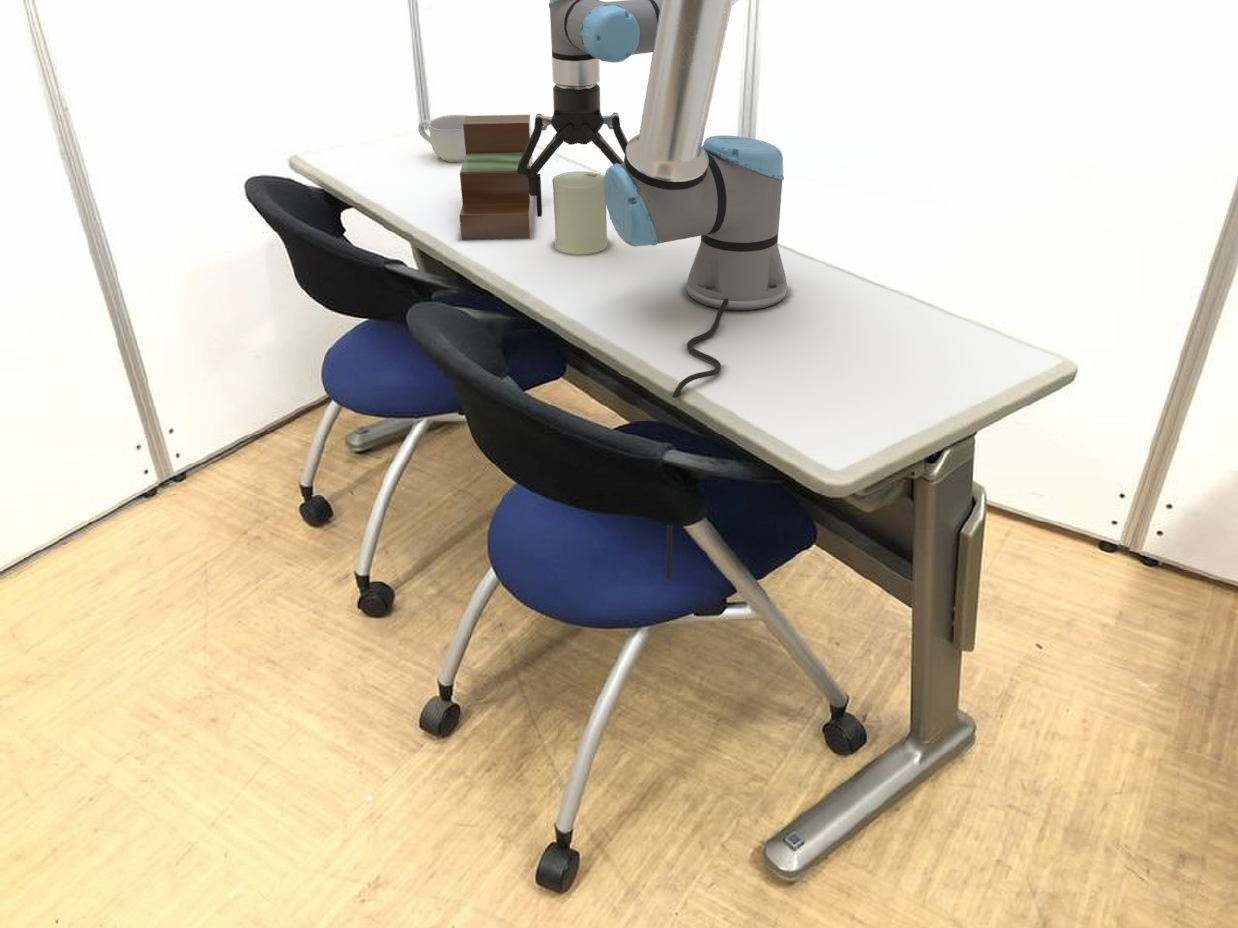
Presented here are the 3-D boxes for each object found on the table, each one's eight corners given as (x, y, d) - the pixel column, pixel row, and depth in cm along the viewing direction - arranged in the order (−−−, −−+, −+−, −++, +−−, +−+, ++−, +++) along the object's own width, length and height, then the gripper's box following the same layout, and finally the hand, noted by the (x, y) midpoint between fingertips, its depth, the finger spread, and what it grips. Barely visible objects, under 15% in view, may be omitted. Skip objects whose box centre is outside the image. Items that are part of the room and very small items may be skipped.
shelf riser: (530, 238, 184) (525, 150, 176) (461, 240, 184) (453, 151, 175) (534, 195, 204) (530, 114, 196) (472, 197, 204) (465, 116, 196)
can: (619, 244, 181) (618, 175, 175) (582, 259, 175) (580, 188, 169) (580, 232, 186) (578, 165, 180) (543, 246, 180) (540, 177, 174)
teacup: (491, 155, 228) (489, 118, 224) (460, 168, 220) (456, 129, 216) (442, 147, 235) (439, 110, 230) (410, 159, 227) (405, 121, 223)
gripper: (653, 77, 170) (651, 204, 182) (499, 79, 169) (507, 207, 181) (656, 89, 164) (654, 219, 175) (496, 91, 163) (505, 222, 175)
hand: (579, 213), depth 178 cm, fingers open, 13 cm apart
